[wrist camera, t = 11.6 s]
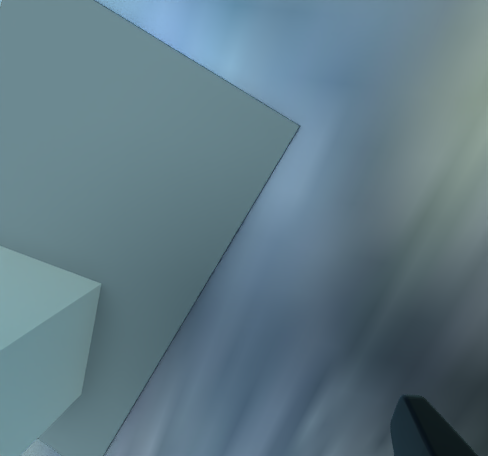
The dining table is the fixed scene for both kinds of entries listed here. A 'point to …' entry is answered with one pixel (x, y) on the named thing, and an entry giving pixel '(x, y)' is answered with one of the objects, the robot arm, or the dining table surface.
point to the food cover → (40, 345)
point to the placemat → (122, 184)
